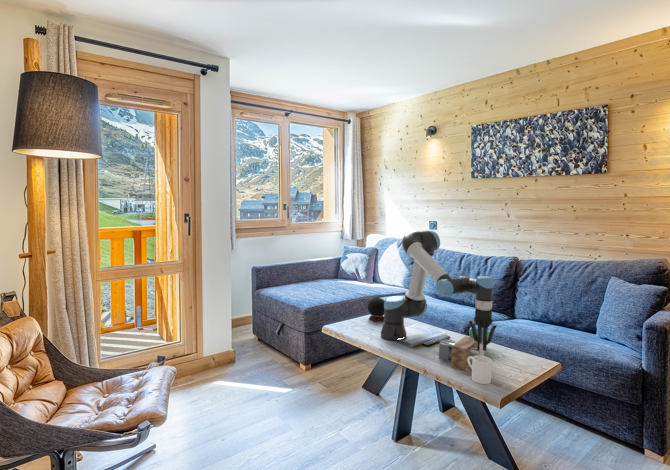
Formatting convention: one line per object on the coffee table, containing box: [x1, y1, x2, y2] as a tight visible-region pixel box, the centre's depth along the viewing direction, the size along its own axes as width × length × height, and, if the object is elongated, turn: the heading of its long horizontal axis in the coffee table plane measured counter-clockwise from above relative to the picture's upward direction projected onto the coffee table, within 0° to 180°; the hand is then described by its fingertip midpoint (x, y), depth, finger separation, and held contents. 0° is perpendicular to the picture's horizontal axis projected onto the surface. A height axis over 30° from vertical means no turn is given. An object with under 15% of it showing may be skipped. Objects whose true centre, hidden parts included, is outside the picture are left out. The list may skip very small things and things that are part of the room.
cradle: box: [438, 339, 456, 362], centre depth 200 cm, size 5×8×8 cm, turn 141°
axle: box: [439, 339, 479, 356], centre depth 196 cm, size 20×4×4 cm, turn 52°
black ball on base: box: [367, 297, 385, 323], centre depth 266 cm, size 13×13×15 cm
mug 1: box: [468, 328, 491, 346], centre depth 213 cm, size 15×10×10 cm
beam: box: [450, 335, 478, 372], centre depth 194 cm, size 7×18×10 cm, turn 142°
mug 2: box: [467, 355, 493, 385], centre depth 177 cm, size 8×12×10 cm
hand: (481, 356), depth 189 cm, fingers closed
